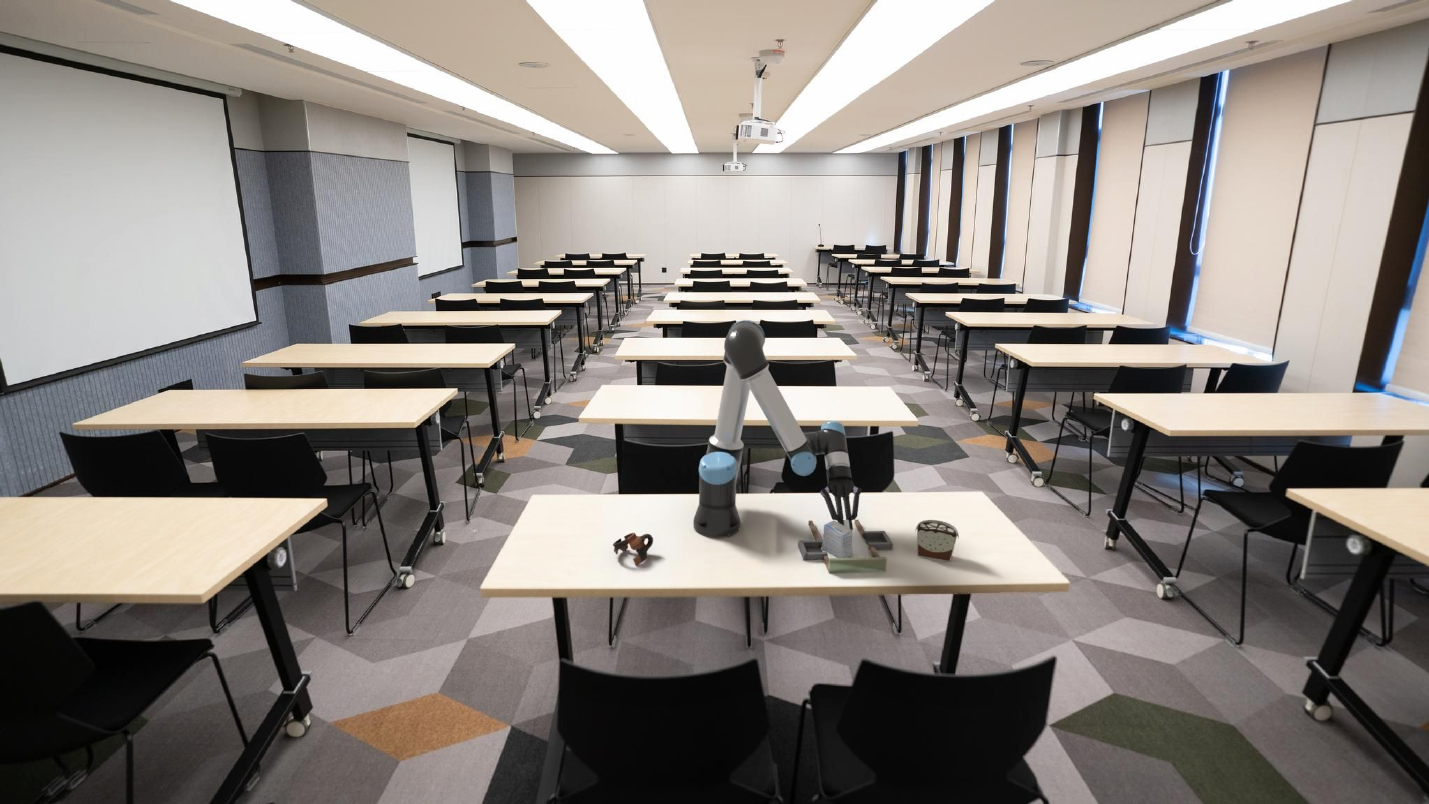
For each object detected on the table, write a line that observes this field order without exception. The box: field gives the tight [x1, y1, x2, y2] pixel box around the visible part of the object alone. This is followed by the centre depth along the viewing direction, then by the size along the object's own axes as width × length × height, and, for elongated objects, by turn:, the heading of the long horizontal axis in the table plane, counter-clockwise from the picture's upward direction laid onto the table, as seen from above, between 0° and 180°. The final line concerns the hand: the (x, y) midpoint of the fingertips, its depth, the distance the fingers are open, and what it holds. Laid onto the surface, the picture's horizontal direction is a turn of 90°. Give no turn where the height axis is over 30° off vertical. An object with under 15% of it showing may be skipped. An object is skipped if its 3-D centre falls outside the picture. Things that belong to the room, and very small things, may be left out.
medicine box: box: [823, 520, 854, 558], centre depth 202 cm, size 8×4×9 cm, turn 35°
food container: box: [914, 519, 960, 563], centre depth 202 cm, size 12×6×10 cm, turn 71°
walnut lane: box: [808, 519, 888, 574], centre depth 207 cm, size 29×16×4 cm, turn 4°
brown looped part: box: [612, 532, 654, 566], centre depth 200 cm, size 12×10×8 cm
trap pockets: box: [797, 530, 894, 561], centre depth 206 cm, size 13×28×2 cm, turn 94°
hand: (847, 541), depth 204 cm, fingers closed
